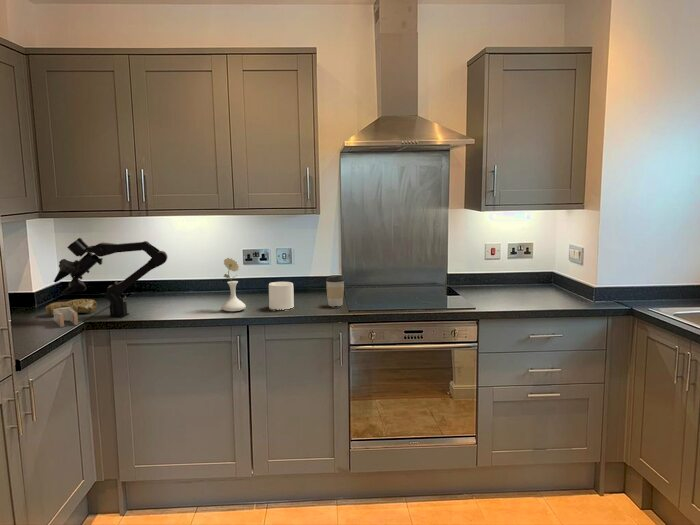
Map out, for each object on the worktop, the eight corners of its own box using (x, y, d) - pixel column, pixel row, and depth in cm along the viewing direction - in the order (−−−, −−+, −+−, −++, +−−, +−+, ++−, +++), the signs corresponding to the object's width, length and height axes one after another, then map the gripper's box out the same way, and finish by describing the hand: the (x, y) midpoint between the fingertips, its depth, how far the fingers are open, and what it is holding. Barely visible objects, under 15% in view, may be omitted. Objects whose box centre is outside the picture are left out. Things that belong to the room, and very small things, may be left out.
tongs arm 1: (64, 326, 232) (63, 314, 231) (60, 327, 231) (59, 315, 231) (58, 321, 242) (58, 309, 241) (55, 321, 241) (54, 310, 240)
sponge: (96, 312, 266) (52, 305, 261) (98, 297, 263) (53, 290, 259) (88, 323, 253) (41, 317, 249) (90, 308, 251) (43, 301, 247)
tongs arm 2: (78, 324, 235) (77, 313, 235) (74, 324, 235) (73, 313, 234) (72, 319, 245) (71, 308, 244) (68, 319, 244) (68, 308, 243)
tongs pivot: (72, 319, 245) (71, 307, 245) (55, 322, 241) (54, 309, 240) (71, 318, 247) (70, 306, 246) (54, 320, 243) (53, 309, 242)
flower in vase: (250, 310, 261) (248, 258, 257) (228, 314, 253) (226, 260, 250) (236, 306, 271) (234, 255, 267) (215, 309, 263) (213, 257, 260)
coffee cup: (323, 304, 272) (322, 274, 270) (339, 303, 276) (339, 273, 274) (331, 308, 264) (330, 277, 262) (347, 306, 268) (347, 276, 266)
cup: (289, 311, 259) (288, 286, 257) (265, 310, 261) (265, 285, 260) (296, 305, 270) (296, 281, 269) (274, 305, 273) (273, 281, 271)
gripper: (64, 243, 243) (36, 268, 242) (79, 269, 234) (51, 294, 232) (82, 255, 253) (56, 278, 252) (97, 279, 243) (70, 304, 242)
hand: (58, 288), depth 244 cm, fingers open, 9 cm apart
